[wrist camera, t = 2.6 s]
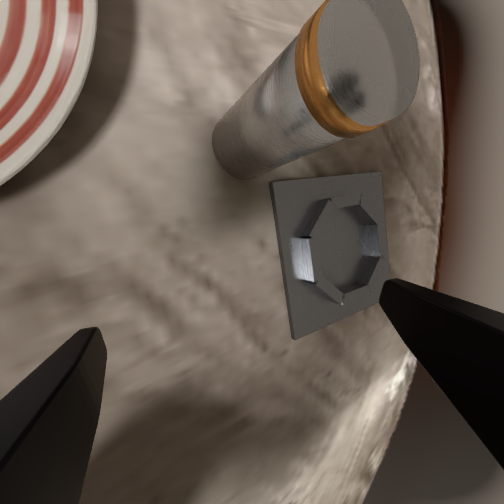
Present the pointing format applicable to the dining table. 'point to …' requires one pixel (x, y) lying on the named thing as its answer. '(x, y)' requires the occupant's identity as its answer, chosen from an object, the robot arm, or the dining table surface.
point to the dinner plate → (40, 72)
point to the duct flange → (330, 246)
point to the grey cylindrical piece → (323, 87)
